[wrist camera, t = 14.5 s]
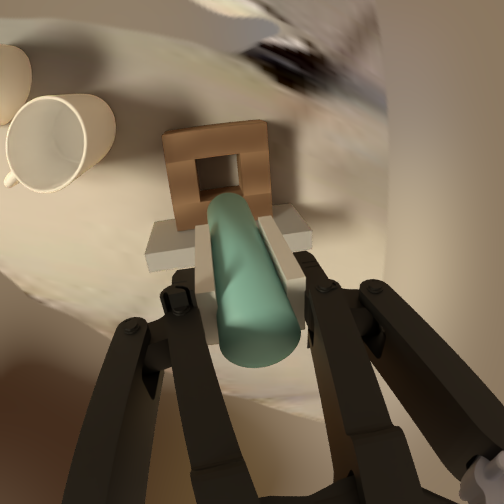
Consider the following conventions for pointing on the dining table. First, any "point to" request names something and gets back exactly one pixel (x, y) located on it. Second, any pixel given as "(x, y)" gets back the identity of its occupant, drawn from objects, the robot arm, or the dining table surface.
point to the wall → (183, 242)
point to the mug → (13, 81)
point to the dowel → (248, 289)
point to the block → (210, 145)
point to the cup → (57, 140)
